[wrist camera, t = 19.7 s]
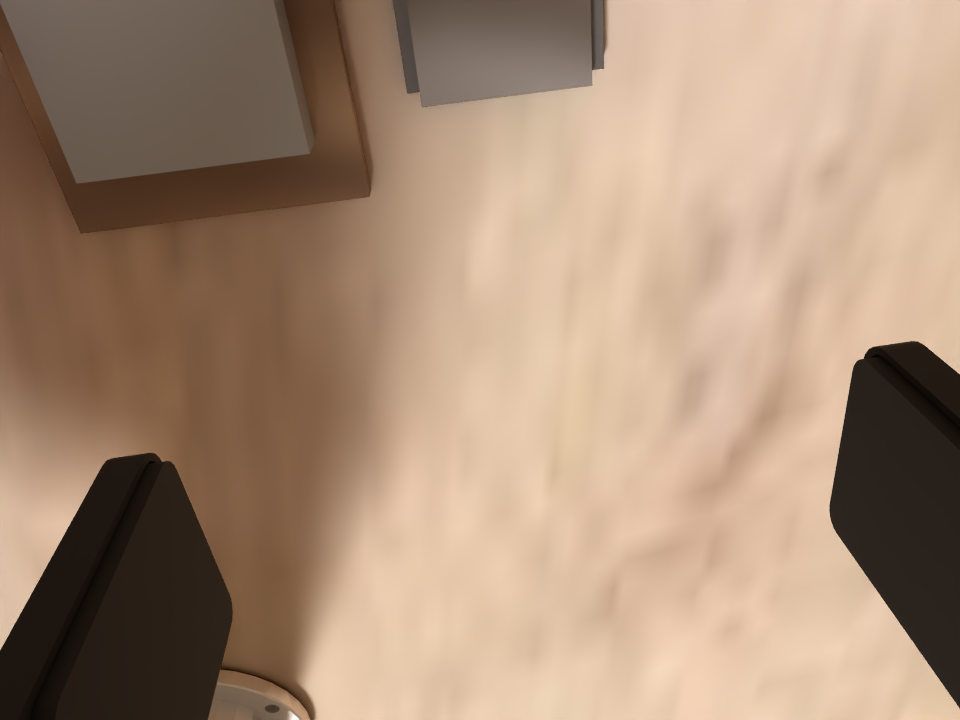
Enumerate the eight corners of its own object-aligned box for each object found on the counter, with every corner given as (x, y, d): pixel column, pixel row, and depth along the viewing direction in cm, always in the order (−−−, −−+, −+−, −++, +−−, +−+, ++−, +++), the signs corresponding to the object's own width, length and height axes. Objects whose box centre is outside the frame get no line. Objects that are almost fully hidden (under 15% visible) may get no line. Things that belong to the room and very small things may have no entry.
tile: (309, 154, 25) (232, -170, 20) (76, 183, 25) (-58, -133, 20) (315, 138, 27) (245, -167, 22) (95, 166, 27) (-26, -132, 22)
